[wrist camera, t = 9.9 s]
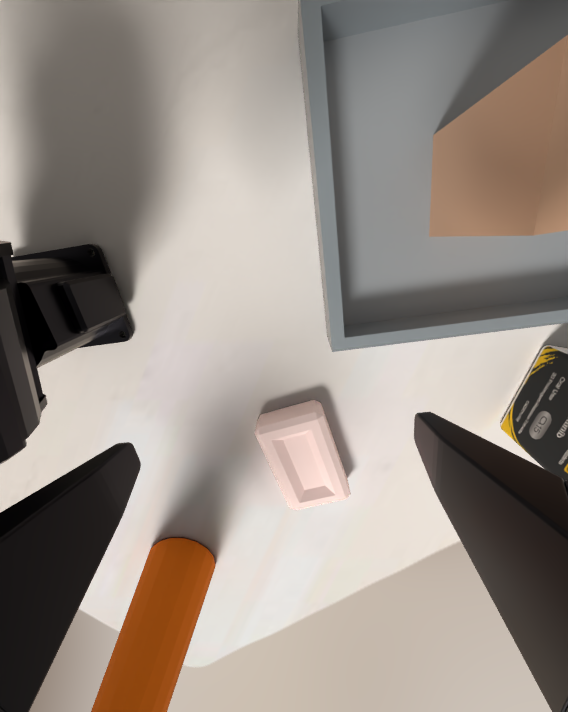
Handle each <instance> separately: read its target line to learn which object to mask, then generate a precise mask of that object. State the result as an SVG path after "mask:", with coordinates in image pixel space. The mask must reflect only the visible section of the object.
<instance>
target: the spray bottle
mask: <svg viewBox="0 0 568 712" xmlns="http://www.w3.org/2000/svg"><path fill="white" fill-rule="evenodd" d="M214 569H215V562H214V557H213V555H212V554H211V553H210V551H209V550H208V549H207V548H206V547H204V546H203V545H201V544H199V543H198V542H196V541H192V540H189V539H185V538H169V539H166V540H162V541H159V542H158V543H157V544H156V545H154V546H153V547H152V548H151V550H150V552H149V555H148V558H147V560H146V563H145V566H144V569H143V571H142V574H141V577H140V580H139V582H138V585H137V588H136V590H135V593H134V596H133V599H132V601H131V604H130V607H129V610H128V612H127V615H126V618H125V621H124V623H123V626H122V629H121V631H120V634H119V637H118V640H117V643H116V645H115V648H114V651H113V653H112V656H111V659H110V662H109V665H108V667H107V670H106V672H105V675H104V678H103V681H102V683H101V686H100V689H99V692H98V695H97V697H96V700H95V703H94V705H93V708H92V711H91V712H167V710H168V706H169V704H170V700H171V698H172V695H173V692H174V688H175V686H176V683H177V679H178V677H179V674H180V671H181V668H182V665H183V662H184V659H185V656H186V653H187V650H188V647H189V644H190V641H191V638H192V635H193V632H194V629H195V626H196V623H197V620H198V617H199V614H200V611H201V608H202V605H203V602H204V599H205V596H206V593H207V590H208V587H209V584H210V581H211V578H212V575H213V572H214Z"/></svg>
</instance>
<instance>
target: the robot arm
mask: <svg viewBox="0 0 568 712" xmlns="http://www.w3.org/2000/svg"><path fill="white" fill-rule="evenodd" d="M92 249H93V250H94V251H95V256H93V254H92V252H91V251H92ZM11 255H14V254H13V250H12V246H11V242H6V241H0V464H2V463H4V462H5V461H7V460H9V459H10V458H11V457H13V456H14V455H16V454H17V453H18V452H20V451H21V450H22V449H23V448H25V446H26V444H27V443H26V439H27V438H28V437H29V436H30V434H31V433H32V432H33V431H34V430H35V428H36V427H37V426H38V425H39V423H40V417H41V412H42V411H43V409H44V408H45V407H46V405H47V399H46V395H44V394H43V393H42V388H41V384H40V380H39V375H38V371H37V368H38V367H40V366H42V365H44V364H46V363H48V362H50V361H52V360H54V359H56V358H58V357H60V356H62V355H64V354H66V353H68V352H70V351H72V350H74V349H76V348H81V347H88V346H96V345H103V344H110V343H118V342H125V341H128V340H129V339H131V338H132V336H133V333H132V330H131V327H130V325H129V322H128V319H127V316H126V314H125V313H126V310H125V308H124V305H123V302H122V299H121V297H120V294H119V291H118V289H117V286H116V283H115V280H114V278H113V276H112V275H111V273H110V270H109V267H108V265H107V262H106V259H105V257H104V254H103V251H102V249H101V248H100V247H99V246H98V245H95V244H87V245H82V246H76V247H70V248H64V249H58V250H52V251H46V252H41V253H35V254H29V255H23V256H17V257H11ZM122 332H125V333H126V336H124V335H123V334H122ZM414 439H415V443H416V446H417V448H418V451H419V453H420V456H421V458H422V461H423V463H424V466H425V468H426V471H427V473H428V476H429V478H430V481H431V483H432V486H433V488H434V490H435V492H436V494H437V496H438V498H439V500H440V502H441V504H442V506H443V508H444V510H445V512H446V514H447V515H448V517H449V519H450V521H451V523H452V525H453V527H454V529H455V530H456V532H457V534H458V536H459V538H460V540H461V542H462V544H463V545H464V547H465V549H466V551H467V553H468V555H469V557H470V558H471V560H472V562H473V564H474V566H475V568H476V570H477V572H478V573H479V575H480V577H481V579H482V581H483V583H484V585H485V587H486V588H487V590H488V592H489V594H490V596H491V598H492V600H493V602H494V603H495V605H496V607H497V609H498V611H499V613H500V615H501V616H502V618H503V620H504V622H505V624H506V626H507V628H508V630H509V631H510V633H511V635H512V637H513V639H514V641H515V643H516V645H517V647H518V648H519V650H520V652H521V654H522V656H523V658H524V660H525V661H526V663H527V665H528V667H529V669H530V671H531V673H532V675H533V676H534V678H535V680H536V682H537V684H538V686H539V688H540V690H541V692H542V693H543V695H544V697H545V699H546V701H547V703H548V704H549V707H550V708H551V710H552V712H568V481H567V480H565V481H564V480H563V478H561V477H559V476H557V475H555V474H553V473H551V472H549V471H547V470H545V469H543V468H541V467H539V466H537V465H535V464H533V463H531V462H529V461H527V460H525V459H523V458H521V457H519V456H517V455H515V454H513V453H511V452H509V451H507V450H505V449H503V448H501V447H499V446H497V445H495V444H493V443H491V442H489V441H487V440H485V439H483V438H481V437H479V436H477V435H475V434H473V433H471V432H469V431H467V430H465V429H463V428H461V427H459V426H458V425H456V424H454V423H452V422H450V421H448V420H446V419H444V418H442V417H440V416H438V415H436V414H434V413H431V412H423V413H417V414H416V415H415V423H414ZM140 466H141V464H140V460H139V457H138V455H137V453H136V451H135V448H134V446H133V444H131V443H129V442H127V443H118V444H116V445H114V446H112V447H111V448H109V449H107V450H106V451H104V452H102V453H100V454H99V455H97V456H95V457H94V458H92V459H90V460H89V461H87V462H85V463H84V464H82V465H80V466H78V467H77V468H75V469H73V470H72V471H70V472H68V473H67V474H65V475H63V476H62V477H60V478H58V479H57V480H55V481H53V482H51V483H50V484H48V485H46V486H45V487H43V488H41V489H40V490H38V491H36V492H35V493H33V494H31V495H30V496H28V497H26V498H24V499H23V500H21V501H19V502H18V503H16V504H14V505H13V506H11V507H9V508H8V509H6V510H4V511H3V512H1V513H0V712H29V710H30V708H31V706H32V704H33V702H34V700H35V697H36V696H37V694H38V692H39V690H40V687H41V685H42V683H43V681H44V679H45V677H46V675H47V673H48V671H49V669H50V666H51V664H52V662H53V660H54V658H55V656H56V654H57V652H58V650H59V648H60V646H61V643H62V641H63V639H64V637H65V635H66V633H67V631H68V629H69V627H70V625H71V623H72V621H73V618H74V616H75V614H76V612H77V610H78V608H79V606H80V604H81V602H82V600H83V598H84V596H85V593H86V591H87V589H88V587H89V585H90V583H91V581H92V579H93V577H94V575H95V573H96V570H97V568H98V566H99V564H100V562H101V560H102V558H103V556H104V554H105V552H106V550H107V547H108V545H109V543H110V541H111V539H112V537H113V535H114V533H115V531H116V529H117V527H118V525H119V522H120V520H121V518H122V516H123V513H124V511H125V508H126V506H127V503H128V500H129V498H130V495H131V492H132V490H133V487H134V484H135V482H136V479H137V476H138V473H139V471H140Z"/></svg>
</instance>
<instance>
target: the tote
mask: <svg viewBox="0 0 568 712" xmlns="http://www.w3.org/2000/svg"><path fill="white" fill-rule="evenodd" d="M567 35H568V0H298V38H299V48H300V59H301V69H302V79H303V90H304V100H305V110H306V121H307V131H308V142H309V152H310V162H311V173H312V183H313V193H314V204H315V214H316V225H317V235H318V245H319V256H320V266H321V277H322V287H323V297H324V308H325V318H326V328H327V337H328V340H329V343H330V346H331V349H332V352H335V351H343V350H351V349H359V348H367V347H375V346H383V345H392V344H400V343H408V342H416V341H424V340H432V339H440V338H448V337H456V336H464V335H473V334H481V333H489V332H497V331H505V330H513V329H521V328H529V327H537V326H545V325H554V324H562V323H568V230H567V231H560V232H554V233H547V234H540V235H534V236H448V237H429V228H430V204H431V179H432V155H433V135H434V134H436V133H437V132H438V131H440V130H441V129H442V128H444V127H445V126H446V125H448V124H449V123H450V122H452V121H453V120H454V119H456V118H457V117H458V116H460V115H461V114H462V113H464V112H465V111H466V110H468V109H469V108H470V107H472V106H473V105H474V104H476V103H477V102H478V101H480V100H481V99H482V98H484V97H485V96H486V95H488V94H489V93H490V92H492V91H493V90H494V89H496V88H497V87H498V86H500V85H501V84H502V83H504V82H505V81H506V80H508V79H509V78H510V77H512V76H513V75H515V74H516V73H517V72H519V71H520V70H521V69H523V68H524V67H525V66H527V65H528V64H529V63H531V62H532V61H533V60H535V59H536V58H537V57H539V56H540V55H541V54H543V53H544V52H545V51H547V50H548V49H549V48H551V47H552V46H553V45H555V44H556V43H557V42H559V41H560V40H561V39H563V38H564V37H565V36H567Z"/></svg>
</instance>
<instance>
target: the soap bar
mask: <svg viewBox="0 0 568 712" xmlns="http://www.w3.org/2000/svg"><path fill="white" fill-rule="evenodd" d="M255 436H256V438H257V440H258V442H259V444H260V446H261V448H262V451H263V453H264V455H265V457H266V459H267V461H268V463H269V465H270V468H271V470H272V472H273V474H274V476H275V478H276V480H277V482H278V485H279V487H280V489H281V491H282V493H283V495H284V497H285V499H286V501H287V504H288V506H289V508H291V509H294V510H300V509H304V508H309V507H313V506H318V505H322V504H327V503H332V502H336V501H341V500H345V499H347V498H348V497H349V496H350V494H351V493H350V489H349V484H348V480H347V476H346V473H345V471H344V468H343V465H342V462H341V459H340V456H339V453H338V451H337V448H336V445H335V442H334V439H333V436H332V433H331V430H330V428H329V425H328V422H327V419H326V416H325V413H324V410H323V407H322V405H321V403H320V402H318V401H316V400H311V401H307V402H303V403H300V404H296V405H293V406H289V407H285V408H282V409H278V410H275V411H271V412H267V413H264V414H260V416H259V418H258V420H257V424H256V429H255Z"/></svg>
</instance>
